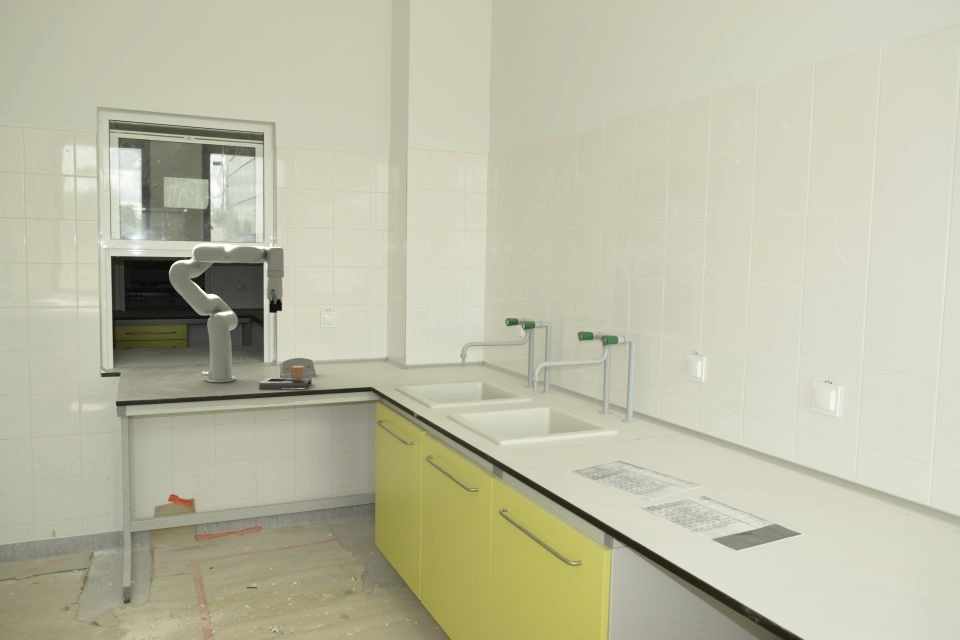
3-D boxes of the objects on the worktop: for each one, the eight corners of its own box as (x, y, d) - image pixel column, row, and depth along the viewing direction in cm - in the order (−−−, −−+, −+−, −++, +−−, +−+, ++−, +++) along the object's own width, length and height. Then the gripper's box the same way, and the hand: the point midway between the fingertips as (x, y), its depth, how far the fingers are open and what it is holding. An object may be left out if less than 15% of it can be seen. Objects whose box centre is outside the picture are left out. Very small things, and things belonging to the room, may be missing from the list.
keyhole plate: (259, 389, 314) (259, 382, 313) (267, 383, 327) (267, 377, 326) (305, 389, 314) (305, 383, 314) (311, 383, 327) (311, 377, 327)
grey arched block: (282, 379, 339) (280, 358, 341) (280, 380, 343) (277, 360, 345) (317, 376, 348) (314, 356, 350) (314, 378, 352) (312, 358, 354)
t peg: (291, 387, 318) (291, 367, 317) (294, 385, 323) (293, 365, 322) (302, 387, 318) (302, 367, 317) (305, 385, 323) (304, 365, 322)
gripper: (271, 273, 336) (272, 310, 338) (261, 274, 319) (262, 313, 320) (288, 273, 336) (288, 310, 338) (278, 275, 319) (279, 313, 321)
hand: (275, 311), depth 329 cm, fingers open, 9 cm apart
